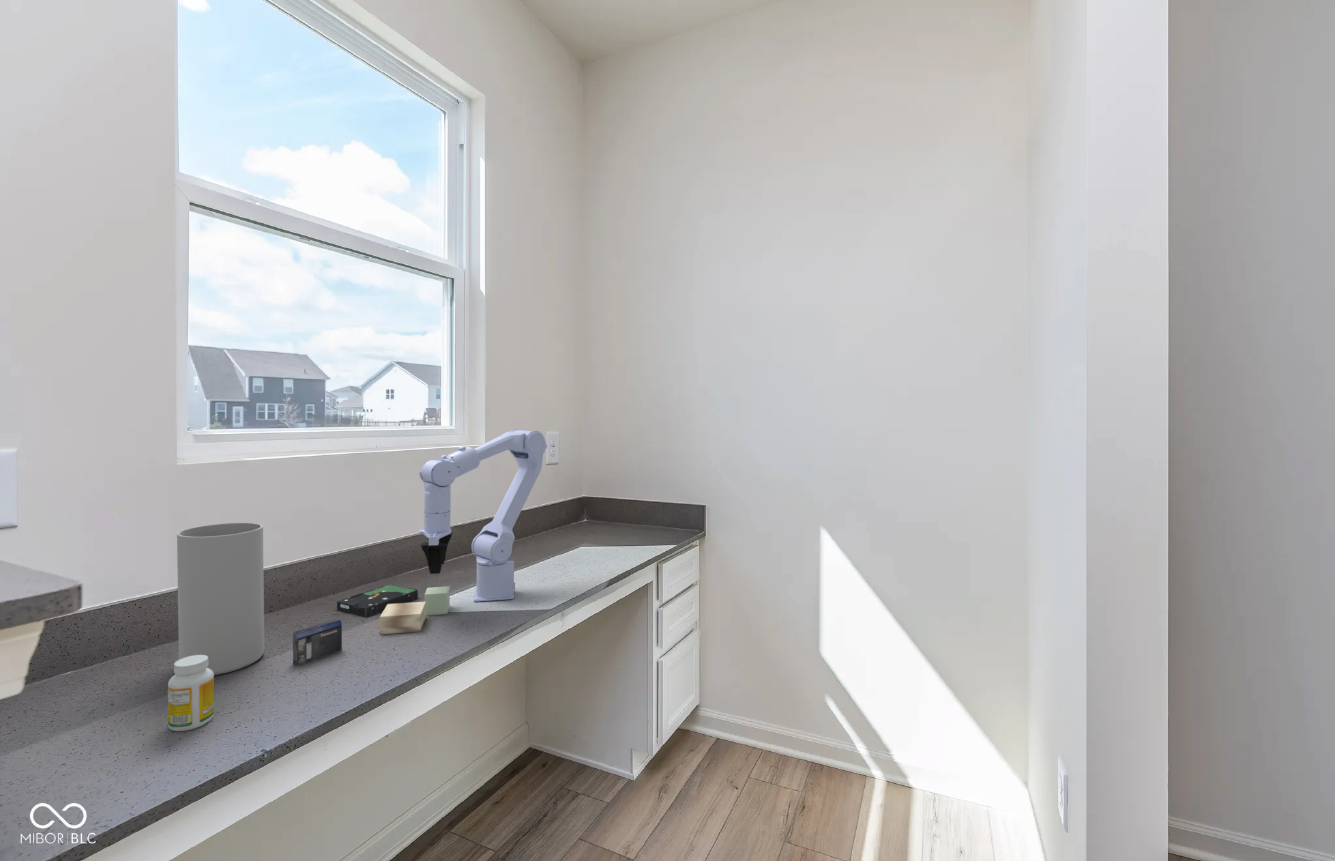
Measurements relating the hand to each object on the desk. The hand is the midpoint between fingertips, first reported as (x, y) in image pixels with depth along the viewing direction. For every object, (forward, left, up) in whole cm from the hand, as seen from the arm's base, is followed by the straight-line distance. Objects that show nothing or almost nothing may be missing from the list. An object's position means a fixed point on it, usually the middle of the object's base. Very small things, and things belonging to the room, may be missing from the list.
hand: (437, 568), depth 135 cm
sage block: (0, 0, -10) cm, 10 cm away
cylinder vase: (+35, +20, -10) cm, 41 cm away
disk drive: (+14, -8, -11) cm, 19 cm away
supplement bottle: (+30, +42, -10) cm, 53 cm away
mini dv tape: (+19, +21, -10) cm, 30 cm away
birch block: (+6, +8, -10) cm, 14 cm away
